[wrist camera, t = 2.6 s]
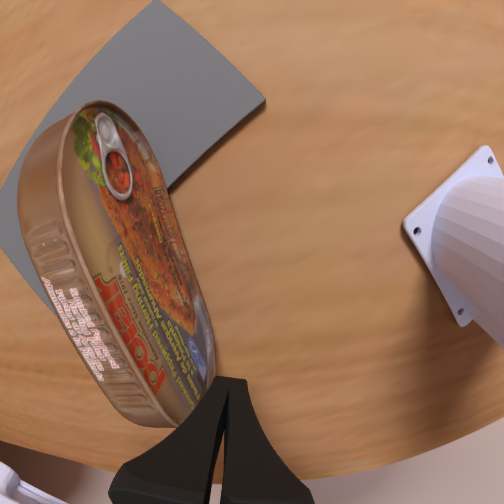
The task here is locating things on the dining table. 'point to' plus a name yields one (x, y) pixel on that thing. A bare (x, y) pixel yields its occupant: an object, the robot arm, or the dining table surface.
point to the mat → (146, 105)
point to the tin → (117, 264)
